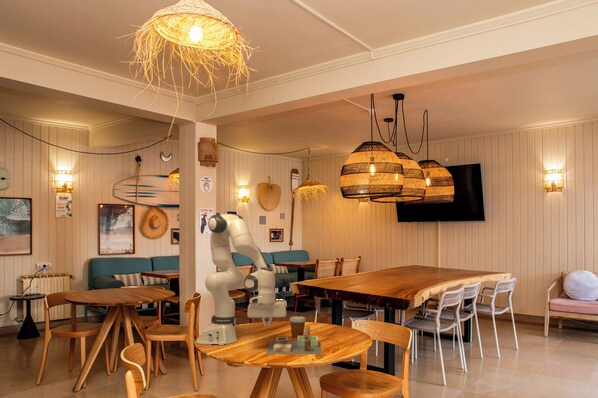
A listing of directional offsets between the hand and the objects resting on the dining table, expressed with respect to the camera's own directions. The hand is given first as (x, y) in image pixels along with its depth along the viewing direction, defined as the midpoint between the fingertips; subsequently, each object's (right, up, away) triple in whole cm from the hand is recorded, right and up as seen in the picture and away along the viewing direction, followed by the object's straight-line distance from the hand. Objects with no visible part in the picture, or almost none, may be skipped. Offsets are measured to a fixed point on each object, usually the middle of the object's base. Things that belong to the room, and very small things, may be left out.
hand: (267, 326), depth 239 cm
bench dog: (+21, -12, -1) cm, 24 cm away
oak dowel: (+21, -13, +11) cm, 27 cm away
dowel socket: (+7, -13, +11) cm, 19 cm away
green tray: (+21, -13, +11) cm, 27 cm away
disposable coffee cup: (+16, -15, +28) cm, 36 cm away
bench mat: (+14, -14, +5) cm, 20 cm away
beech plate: (+8, -12, -1) cm, 15 cm away
